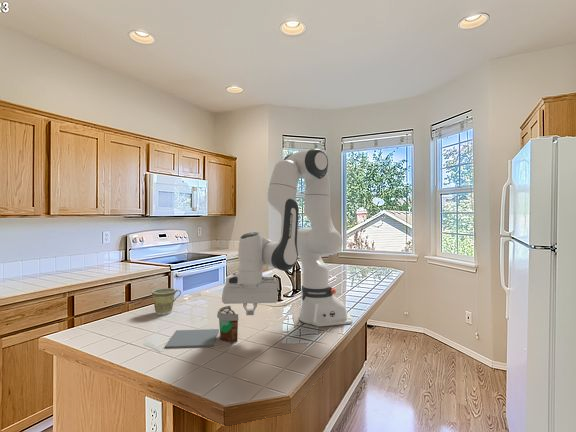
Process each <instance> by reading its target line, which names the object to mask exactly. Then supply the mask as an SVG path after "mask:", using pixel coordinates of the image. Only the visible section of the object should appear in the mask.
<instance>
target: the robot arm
mask: <svg viewBox="0 0 576 432" xmlns="http://www.w3.org/2000/svg"><path fill="white" fill-rule="evenodd" d="M328 167H329V159H328V156H327V154H326V152H325V151H324V150H322V149H320V148H310V149H304V150H299V151H297V152H295V153H290V154H288V155H286V156H285V157H284V158H283V159H281V160H279V161H278V162H277V163H275V166H274V168H273V171H272V174H271V177H270V181H269V185H268V189H267V201H268V203H269V205H270V206H271V207H272V209H274V210H276V211H277V212H278V213H279V214H280V217H281V227H280V228H281V229H280V239H279V241H275V240H271V239H268V238H267V237H265V236H264V235H262V234H261V233H260V232H255V231H254V232H249V233H248V232H247V233H245V234H243V235H241V236H240V238H239V242H238V251H237V258H238V262H239V263H238V268H237V269H238V270H237V272H234V273H231V274H228V275H227V276H226V277H225V284H224V287H222V293H221V294H222V295H221V301H222V303H223V304H224V305H225V304H226V305H227V304H229V305H231V304H232V305H233V304H234V305H235V304H238V305H239V304H240V305H242V306H243V308H244V310H245V315H246V316H255V311H256V308H257V307H258V304H276V303H277V302H278V300H279V297H278V289H279V287H280V284H279V283H280V281H279V279H278V278H276V277H274V276H271V277H270V276H263V266H267V267H271V268H274V269H277V270H280V271H284V272H287V271H290V270H291V269H292V268H294V267H295V266H296V264H297V262H298V258H299V260H300V264H301V270H302V286H301V294H300V295H301V296H300V297H301V307H300V311H299V317H298V319H299V321H300V322H302V323H304V324H307V325H308V324H309V325H312V326H315V327H328V326H339V325H348V324H352V323H353V317H352V316H351V315H350V314H349V313H348V312H347V308H346V305H345V304H344V302H343V301H341V300H340V299H339V298H338V297H336V296H335V295H336V293H337V290H336V289H335V288H333V287H331V286H330V284H329V281H330V280H329V274H330V273H329V267H328V265H327V264H326V263H325V261H323V258H322V256H333V255H336V254H339V253H340V251H341V250H342V247H343V237H342V234H341V233H340V232H339V231H338V230H337V229H336V228H335V226H334V223H333V220H332V216H331V195H332V194H331V180H330V175H329V174H328ZM300 179H303V180H304V182H305V183H304V184H305V185H304V186H305V187H304V203H303V213H304V216H305V217H306V218H308V220H309V221H310V225H311V227H301V228H299V215H300V214H299V210H300V209H299V205H298V203H297V191H298V184H299V180H300ZM321 255H322V256H321ZM248 304H253V307H252V308H251V309H249V308H248Z"/></svg>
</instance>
